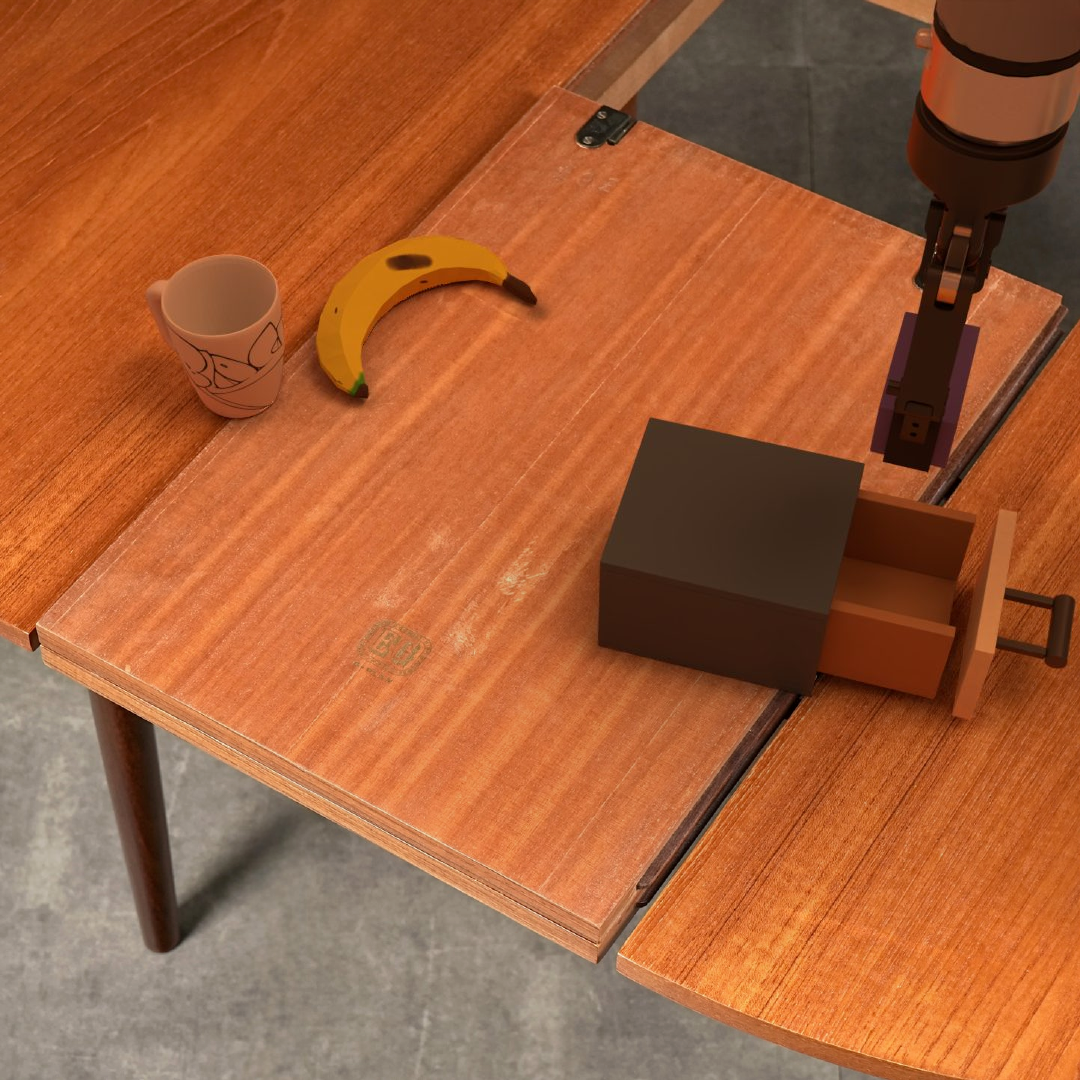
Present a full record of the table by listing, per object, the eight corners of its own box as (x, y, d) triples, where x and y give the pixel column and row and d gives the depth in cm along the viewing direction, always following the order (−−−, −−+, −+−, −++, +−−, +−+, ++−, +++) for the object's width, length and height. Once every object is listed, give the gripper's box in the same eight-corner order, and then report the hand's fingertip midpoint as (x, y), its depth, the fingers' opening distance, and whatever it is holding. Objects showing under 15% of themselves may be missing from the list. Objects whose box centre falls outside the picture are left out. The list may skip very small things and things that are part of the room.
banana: (289, 355, 125) (480, 420, 124) (374, 192, 134) (553, 252, 133) (290, 391, 129) (475, 454, 128) (373, 230, 138) (546, 289, 137)
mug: (131, 390, 129) (102, 295, 121) (199, 320, 133) (175, 225, 125) (253, 446, 126) (232, 353, 118) (318, 373, 130) (302, 278, 122)
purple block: (968, 372, 104) (980, 326, 100) (945, 469, 99) (957, 424, 96) (895, 356, 105) (905, 310, 101) (869, 451, 100) (878, 406, 97)
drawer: (1066, 598, 115) (1095, 528, 109) (1047, 738, 109) (1076, 673, 102) (799, 538, 119) (812, 467, 112) (765, 670, 112) (776, 603, 106)
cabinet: (846, 550, 119) (865, 462, 111) (811, 697, 112) (828, 615, 104) (644, 504, 122) (649, 416, 114) (597, 645, 115) (599, 561, 107)
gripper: (954, -33, 90) (891, 278, 108) (876, 225, 78) (820, 526, 96) (1098, -8, 89) (1009, 303, 107) (1041, 258, 77) (952, 557, 95)
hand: (920, 408), depth 102 cm, fingers closed on purple block, 8 cm apart
